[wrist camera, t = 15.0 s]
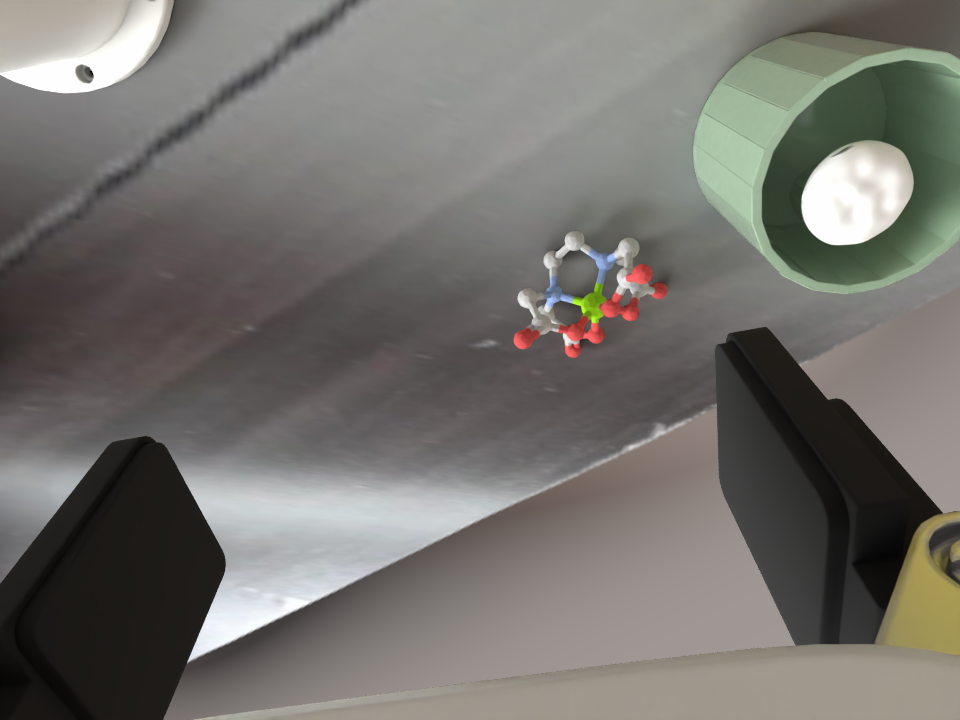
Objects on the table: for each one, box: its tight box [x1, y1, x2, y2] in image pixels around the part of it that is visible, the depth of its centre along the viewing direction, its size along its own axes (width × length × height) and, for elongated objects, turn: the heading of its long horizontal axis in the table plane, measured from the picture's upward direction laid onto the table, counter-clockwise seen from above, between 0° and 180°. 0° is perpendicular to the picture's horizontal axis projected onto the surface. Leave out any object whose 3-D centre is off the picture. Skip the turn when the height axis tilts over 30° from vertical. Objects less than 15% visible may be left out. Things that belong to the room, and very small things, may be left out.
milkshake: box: [764, 122, 914, 245], centre depth 31 cm, size 5×5×10 cm
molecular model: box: [514, 231, 667, 357], centre depth 37 cm, size 7×8×8 cm
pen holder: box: [693, 32, 960, 294], centre depth 32 cm, size 10×10×9 cm
